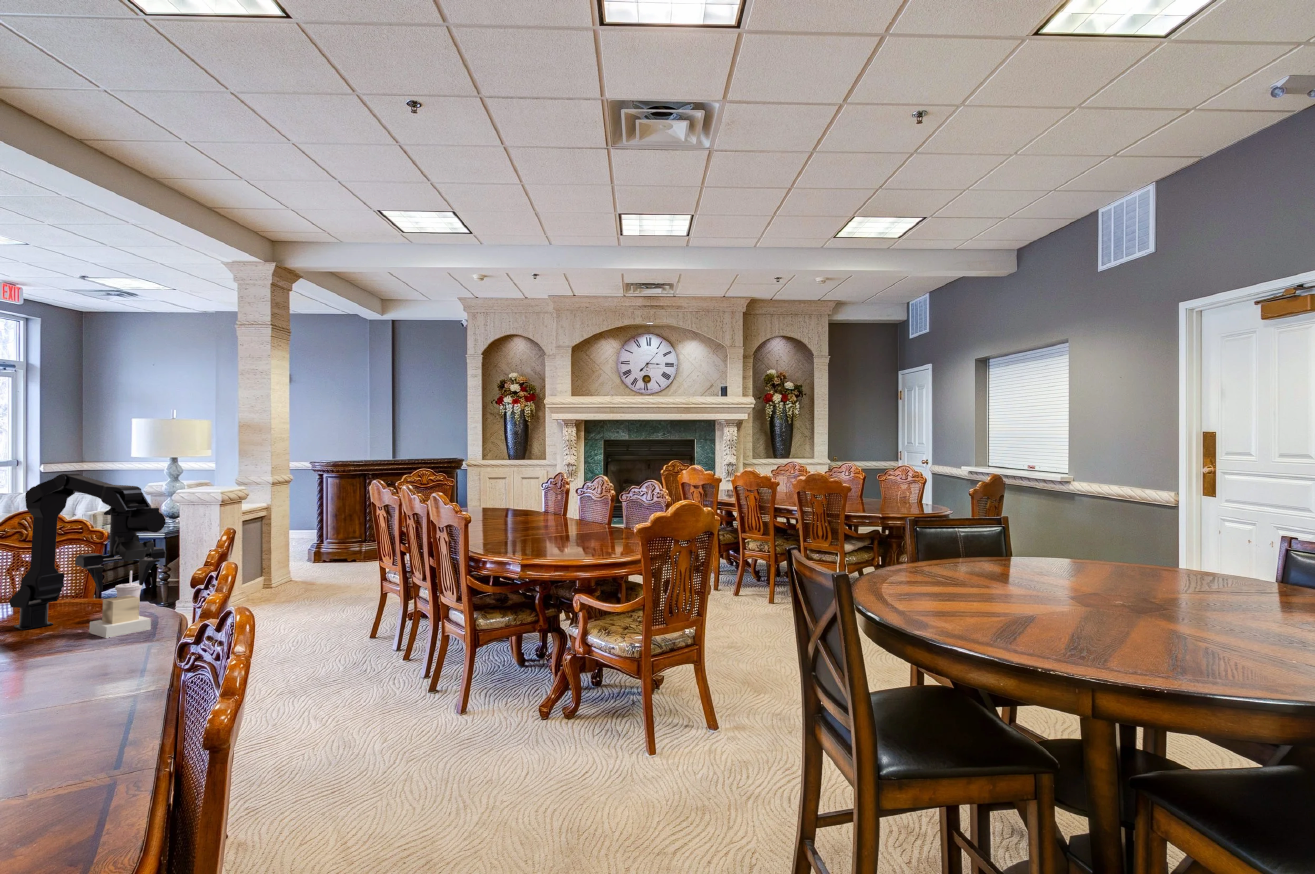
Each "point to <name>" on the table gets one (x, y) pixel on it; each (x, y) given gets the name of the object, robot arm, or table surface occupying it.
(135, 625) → the plinth
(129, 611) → the maple cube
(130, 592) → the smoothie
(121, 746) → the table surface
